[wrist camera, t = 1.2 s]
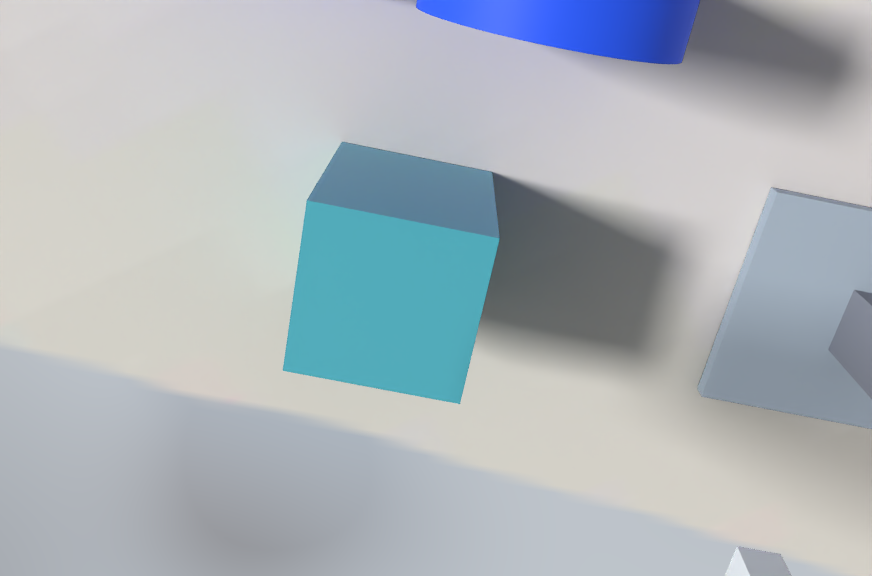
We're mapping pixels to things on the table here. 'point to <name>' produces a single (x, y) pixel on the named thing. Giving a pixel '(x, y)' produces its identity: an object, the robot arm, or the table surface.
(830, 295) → the marker stand
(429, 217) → the teal block
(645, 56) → the bracket
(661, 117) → the table surface
